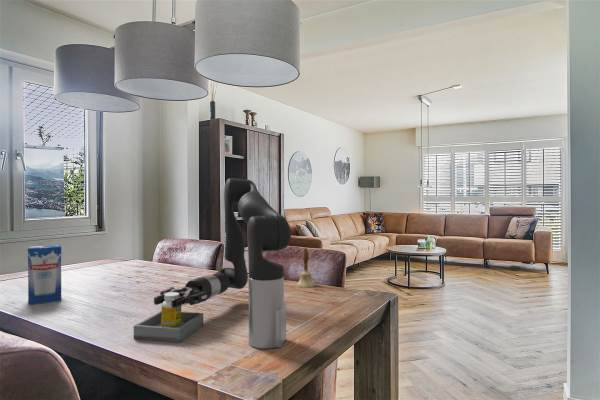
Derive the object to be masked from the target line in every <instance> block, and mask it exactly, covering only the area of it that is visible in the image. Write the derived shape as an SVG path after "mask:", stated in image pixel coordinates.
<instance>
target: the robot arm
mask: <svg viewBox="0 0 600 400" xmlns="http://www.w3.org/2000/svg"><path fill="white" fill-rule="evenodd" d="M223 189H224V191H223V204H224V207H223V208H224V224H225V243H224V245H225V246H224V260H225V261H227V262H229V263H231V264H232V265H233V267H223V268H220V269H219V270H218V271H217V272H215V273H212V274H207V275H203V276H200V277H195V278H193V279H190V280H188V281H187V282H186V284H185V286H181V287H179V288H175V287H173V286H172V287H169V288H166V289H164V290H161V291H160V293H159V294H160V295H156V296H154V298H153V304H154V305H162V303H163V302H164V301H165V299H164V295H165V294H166V293H170V292H177V293H179V297H178V298H175V299H173V300H172V307H173V308H175V307H178V306H180V305H181V306H182V305H184V306H187V305H189V306H193V305H198V304H201V303H203V302H206V301H207V300H210V299H212V298H214V297H215V296H218V295H221V294H223V293H224V292H227V290H228V289H236V290H241V289H244V287H246V285H247V283H248V343H249V345H250V346H251V347H253V348H256V349H273V348H281V347H282V346H283V344H284V343H285V341H286V339H287V303H285V268H284V266H283V265H282V264H280V263H278V262H274V261H271V260H268V259H267V258H265V257H264V256H263V252H274V251H281V250H285V249H286V248H287V247H288V246H289V244H290V243H291V239H292V232H291V231H292V230H291V227H290V223H289V221H287V219H286V218H285V217H284V216H283V215H282V214H280V212H278V211H276V209H274V208H273V207H272V206H271V205H270V204H269V203H268V202H267V200H266V199H265V198H264V197H263V196H262V195H261V193H260V192H259V190H258V188H257V186H256V184H255V182H254V181H252V180H250V179H242V178H233V177H231V178H230V177H229V178H228V179H227V180H226V181H225V183H224V188H223ZM234 204H236V205H237V211H238V213H239V215H240V217H241V219H242V220H243V221H244V222H245V223H246V224H247V229H246V230H247V231H246V235H247V239H246V238H245V236H246V235H245V234H244V231H243V229H242V227H241V225H240V224H239V221H238V220H237V218H236V214H235V210H234ZM246 240H247V252H248V253H247V254H248V255H247V257H248V269H247V264H246V263H247V262H246V259H245V250H246V249H245V248H246Z"/></svg>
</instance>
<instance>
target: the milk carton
mask: <svg viewBox="0 0 600 400" xmlns="http://www.w3.org/2000/svg"><path fill="white" fill-rule="evenodd" d="M27 276H28V277H27V281H28V282H27V287H28V290H27V296H28V297H27V299H28V300H27V305H28V306H33V305H39V304H47V303H55V302H62V245H61V244H55V245H54V244H53V245H40V246H39V245H35V246H29V247H28V248H27Z"/></svg>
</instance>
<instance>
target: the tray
mask: <svg viewBox="0 0 600 400" xmlns="http://www.w3.org/2000/svg"><path fill="white" fill-rule="evenodd" d="M161 315H162V310H160V311H159V312H157V313H155V314H153V315H151V316H149V317H147V318H146V319H144V320H142V321H140V322H138V323H136V324H135V325H133V340H145V341H156V342H167V343H181V342H182V341H183V342H184V340H185V339H187V338H188V337H189V336H191V335H192V334H193V333H195V332H196V331H198V329H200V328H201V327H202V326H204V312H190V311H188V312H187V311H181V327H179V328H171V327H161Z"/></svg>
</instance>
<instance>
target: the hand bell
mask: <svg viewBox="0 0 600 400" xmlns="http://www.w3.org/2000/svg"><path fill="white" fill-rule="evenodd" d="M309 258H310V257H309V251H308V249H307V248H304V249H303V251H302V261H303V271H302V272H300V277H299V281H298V282H297V283H296V286H297V287H298V286H299V288H302V287H309V288H314V287H315V286H316V283H315V282H314V281H313V278H312V273H311V272H310V271H308V270H309V269H308V262H309Z"/></svg>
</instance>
